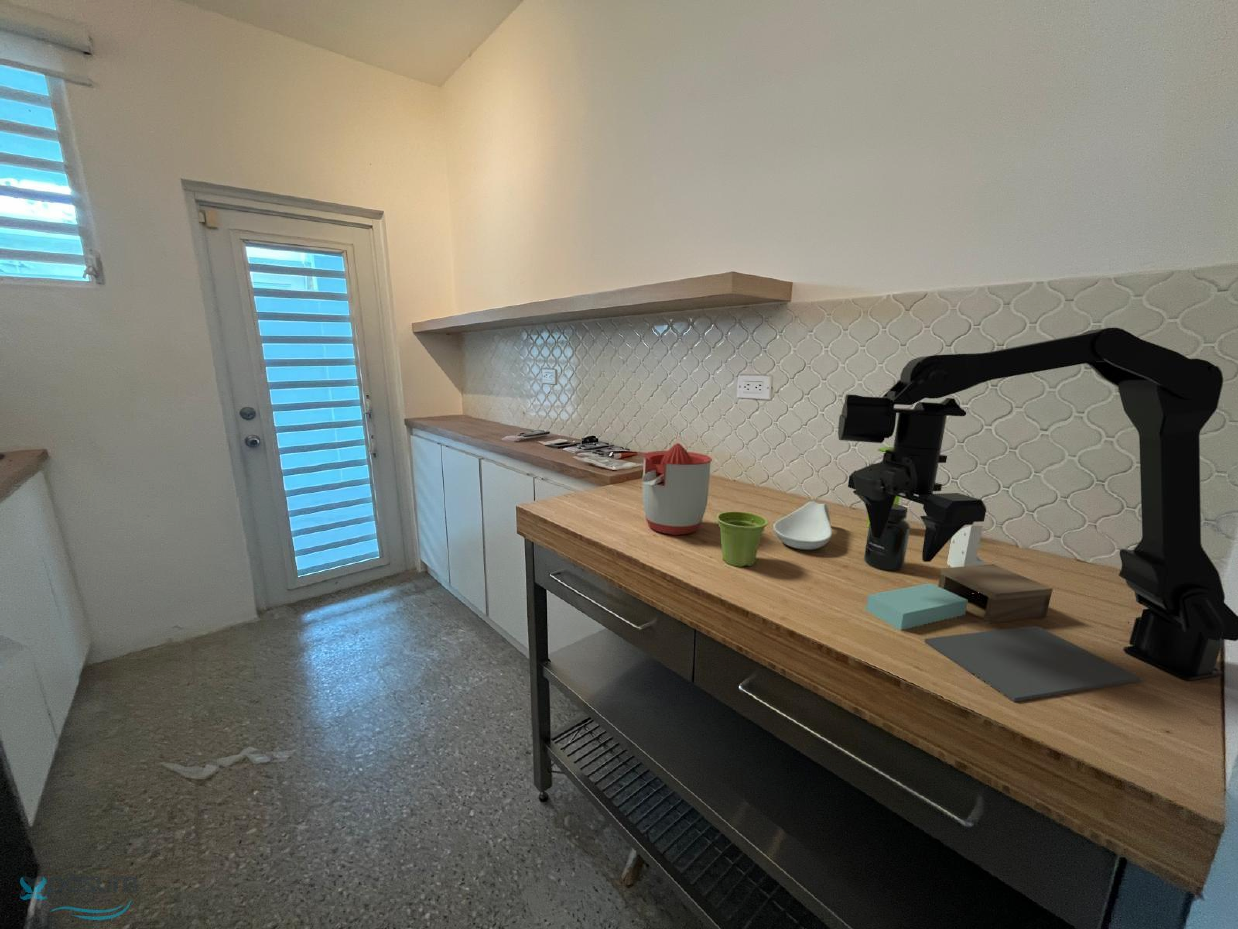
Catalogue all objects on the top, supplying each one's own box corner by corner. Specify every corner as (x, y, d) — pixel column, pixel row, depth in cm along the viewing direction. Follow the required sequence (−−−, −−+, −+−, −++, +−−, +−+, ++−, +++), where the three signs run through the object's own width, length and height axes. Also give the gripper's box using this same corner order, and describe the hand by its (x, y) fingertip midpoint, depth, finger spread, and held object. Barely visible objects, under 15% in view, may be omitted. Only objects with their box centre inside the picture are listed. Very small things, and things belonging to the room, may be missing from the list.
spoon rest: (823, 561, 92) (827, 527, 90) (764, 547, 98) (767, 515, 97) (844, 530, 111) (848, 501, 109) (793, 520, 117) (796, 492, 116)
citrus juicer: (620, 526, 107) (623, 441, 103) (670, 513, 119) (674, 436, 115) (671, 546, 96) (676, 452, 92) (720, 529, 107) (727, 445, 103)
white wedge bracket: (976, 573, 81) (971, 525, 84) (948, 578, 91) (944, 535, 93) (1000, 575, 81) (994, 527, 83) (968, 580, 90) (964, 536, 93)
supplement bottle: (863, 566, 89) (872, 507, 86) (863, 555, 95) (871, 499, 92) (904, 575, 86) (915, 513, 83) (902, 562, 92) (911, 504, 89)
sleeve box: (1045, 616, 72) (1052, 588, 71) (990, 623, 70) (996, 594, 69) (988, 589, 81) (993, 564, 80) (936, 594, 78) (941, 568, 77)
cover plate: (964, 617, 72) (968, 600, 71) (900, 632, 67) (903, 614, 66) (927, 599, 77) (930, 583, 77) (865, 612, 72) (868, 594, 72)
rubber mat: (1140, 681, 57) (1141, 677, 57) (1013, 702, 53) (1014, 698, 53) (1035, 628, 68) (1036, 625, 68) (924, 642, 64) (924, 638, 64)
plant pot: (757, 575, 84) (761, 530, 82) (707, 563, 88) (710, 520, 86) (767, 558, 92) (772, 516, 90) (721, 548, 96) (724, 508, 94)
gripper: (825, 436, 73) (813, 530, 76) (926, 459, 55) (905, 580, 58) (884, 436, 75) (871, 527, 78) (1000, 458, 57) (976, 574, 60)
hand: (899, 549), depth 69 cm, fingers open, 9 cm apart
